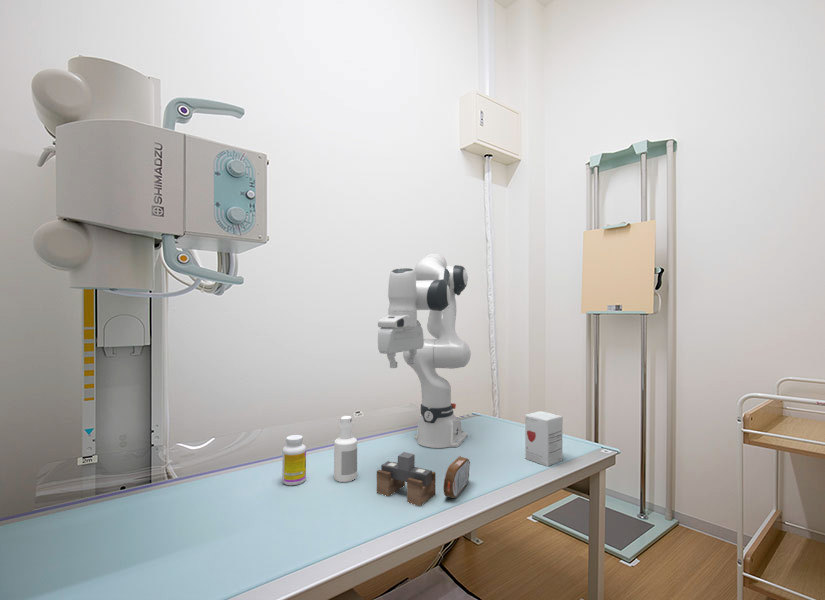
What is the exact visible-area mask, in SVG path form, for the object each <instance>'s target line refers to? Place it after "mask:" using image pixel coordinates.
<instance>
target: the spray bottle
mask: <svg viewBox="0 0 825 600" xmlns="http://www.w3.org/2000/svg"><path fill="white" fill-rule="evenodd" d="M339 420H340V421H339V426H338V428H339V429H338V437H337V438H336V439H335V440H334V443H333V479H334V480H335V481H336V482H338V481H339V482H340V483H348V482H352V480H353V481H354V479H355V480H357V477H358V440H357V438H356V437H354V436H353V435H354V434H353V433H354V432H353V422H352V420H353V419H352V416H350V415H342V416H341V417H340V418H339Z"/></svg>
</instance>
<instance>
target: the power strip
mask: <svg viewBox="0 0 825 600" xmlns="http://www.w3.org/2000/svg"><path fill="white" fill-rule="evenodd" d="M415 455H416V454H415V453H410V452H405V451H403V452H402V453H400V454H398V455H397V462H396V463H394V462H395V461H389V460H388V461H386V462H384V463H383V464H381V467H380V468H381V469H380V470H383V471H387V472H390V473H391V479H395V480H400V481H404V482H405V483H407V479H408V478H413V479H416V480H420V481H423V486H425V487H426V486H428V485H429V484H430V483H431V482H432V472H433V470H432V469H431V470H430V469H425V468H421V467H418V466H417V467H416V466H415V463H416V461H415V460H416V459H415Z"/></svg>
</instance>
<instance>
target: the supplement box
mask: <svg viewBox="0 0 825 600" xmlns="http://www.w3.org/2000/svg"><path fill="white" fill-rule="evenodd" d="M524 419H525V430H524V432H525V434H524V435H525V443H524V444H525V447H524V448H525V449H524V451H525V453H524V454H525V455H524V456H525V457H524V459H525V460H528V461H532V462H534V463H537V464H539V465H542V466H545V467H550V466H552V465H554V464H557V463H559V462H562V461H563V416H562V415H558V414H554V413H551V412H547V411H542V410H539V411H535V412H531V413H527V414H525V416H524Z"/></svg>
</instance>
